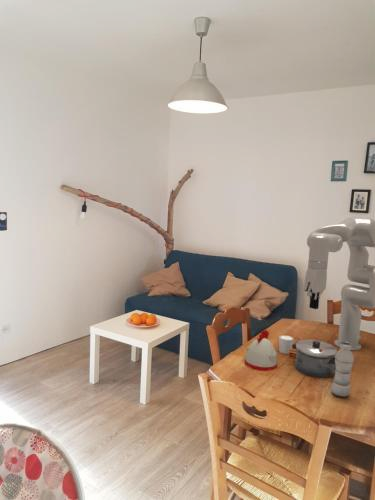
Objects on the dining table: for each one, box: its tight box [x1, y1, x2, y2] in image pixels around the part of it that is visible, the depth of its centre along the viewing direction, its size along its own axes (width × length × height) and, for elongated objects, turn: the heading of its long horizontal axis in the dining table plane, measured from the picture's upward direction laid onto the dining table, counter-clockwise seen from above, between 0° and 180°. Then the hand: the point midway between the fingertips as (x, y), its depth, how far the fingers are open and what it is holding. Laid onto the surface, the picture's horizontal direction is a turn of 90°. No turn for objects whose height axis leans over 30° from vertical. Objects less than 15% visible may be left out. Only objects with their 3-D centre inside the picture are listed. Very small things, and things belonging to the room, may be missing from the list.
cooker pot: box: [292, 342, 338, 379], centre depth 163 cm, size 17×25×9 cm, turn 41°
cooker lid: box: [296, 339, 338, 357], centre depth 163 cm, size 16×16×3 cm
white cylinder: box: [278, 334, 295, 355], centre depth 182 cm, size 7×7×7 cm
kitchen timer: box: [244, 329, 278, 372], centre depth 167 cm, size 14×14×15 cm
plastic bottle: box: [330, 342, 355, 398], centre depth 142 cm, size 6×7×20 cm
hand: (313, 308), depth 160 cm, fingers closed
